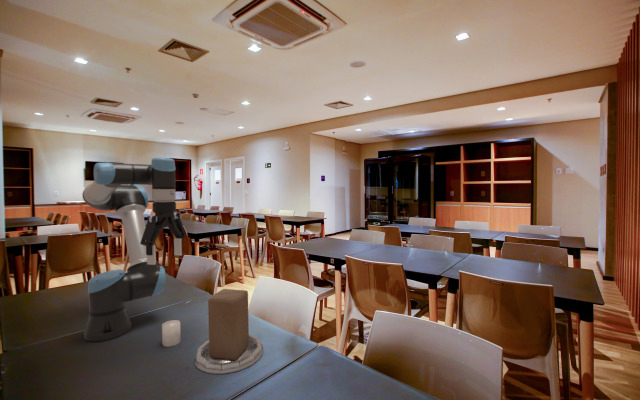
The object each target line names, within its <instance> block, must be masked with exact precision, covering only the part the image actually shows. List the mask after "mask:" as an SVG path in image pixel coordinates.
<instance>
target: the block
mask: <svg viewBox="0 0 640 400" xmlns="http://www.w3.org/2000/svg"><path fill="white" fill-rule="evenodd" d="M207 306H208V308H207V311H208V312H207V313H208V340H209V355H210V357H212V358H220V359H229V360H236V359H238V357H239V356H240V355H241V354H242V353H243V352H244V350H245V349H246V348H247V347H248V345H249V334H250V332H249V291H248V290H244V289H230V288H223V289H220V290H219V291H218V292H216V293H214V294H213V295H212V296H210V297H209V298H208V300H207Z"/></svg>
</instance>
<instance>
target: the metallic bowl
mask: <svg viewBox="0 0 640 400" xmlns="http://www.w3.org/2000/svg"><path fill="white" fill-rule="evenodd" d="M263 353H264V346H263V344H262V343H261V339H260V338H259V337H257V336H256V335H254V334H251V333H249V345H248V347H247V348H246V349H245V350H244V352H243V353H242V354H241V355H240V356H239V357H238V359H236V360H229V359H220V358H212V357H210V355H209V339H207V340H206V341H205V342H203V344H201V345H200V346H199V347H198V348H197V352H196V354H195V356H194V365H195V367H197V369H198V370H200V371H201V372H204V373H206V374H211V375H228V374H232V373H237V372H240V371H243V370H245V369H248V368H250V367H251V366H253V365H255V364H256V363H257V362H258V361H259V360H260V359H261V358H262V356H263Z"/></svg>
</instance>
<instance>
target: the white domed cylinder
mask: <svg viewBox="0 0 640 400" xmlns="http://www.w3.org/2000/svg"><path fill="white" fill-rule="evenodd" d="M181 337H182V336H181V320H178V319H172V320H167V321H164V322H163V323H162V324H161V339H162V342H161V343H162V346H163V347H166V348H169V347H174V346H177V345H179V344H180V343H181V342H182V341H181Z"/></svg>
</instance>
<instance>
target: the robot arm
mask: <svg viewBox="0 0 640 400" xmlns="http://www.w3.org/2000/svg"><path fill="white" fill-rule="evenodd" d="M176 168H177V167H176V162H175V160H174V158H172V157H171V158H170V157H153V158H151V164H143V163H141V164H140V163H124V162H123V163H119V162H109V161H108V162H96V163H95V164H94V165H93V180H94V181H93V182H92V183H90V184H88V185H87V186H86V187H84V189H83V191H82V193H81V194H82V200H83V201H84V202H85V203H86V205H87V206H89V207H91V208H93V209H95V210H100V211H115V212H116V215H117V216H118V217H120V218H121V222H122V229H123V232H124V239H125V244H126V248H127V253H128V260H129V266H128V267H127V269H126V272H125V270H123V269H113V270H107V271H103V272H101V273H98V274H96V275H94V276H92V277H91V278H90V279H89V280H88V283H87V284H88V285H87V293H88V314H89V315H88V319H87V323H86V326H85V328H84V331H83V339H84V340H85V341H87V342H103V341H107V340H111V339H115V338H119V337H120V336H123V335H125V334H126V333H127V332H129V331H130V330H131V328H132V322H131V321H132V320H131V319H130V317H129V314H128V313H127V309H126V303H128V302H132V301H136V300H140V299H144V298H148V297H150V298H151V297H154V296H155V295H160V294H161V293H163V291H164V289H165V285H166V278H167V274H166V269H165V267H164V266H163V265H159V263H158V261H157V260H156V259H157V257H156V256H157V255H156V254H157V253H156V245H154V244H155V242H156V241H157V239H158V237H159V235H160V232H161V231H162V230H163V229H164V228H169V230H170V232H171V233H172V235H174V238H173V246H174V247H173V253H174V255H173V256H180V257H181V256H182V255H183V253H182V252H183V250H182V248H183V247H182V246H183V239H184V238H185V236H187V235H186V234H187V233H186V230H185V228H184V224H183V222H182V219H181V213H180V212H177V203H176V201H175V200H176V199H177V198H176V196H177V195H176ZM145 185H146V186H147V185H149V186H151V189H152V190H151V195H152V196H151V200H152V201H153V202H152V212H153V213H154V215H148V216H147V218H146V220H147V221H146V222H147V223H146V222H145V217H144V213H145V212H146V209H147V208H148V207H149V195H148V193H147V189H146V188H145V187H144V186H145Z"/></svg>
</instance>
